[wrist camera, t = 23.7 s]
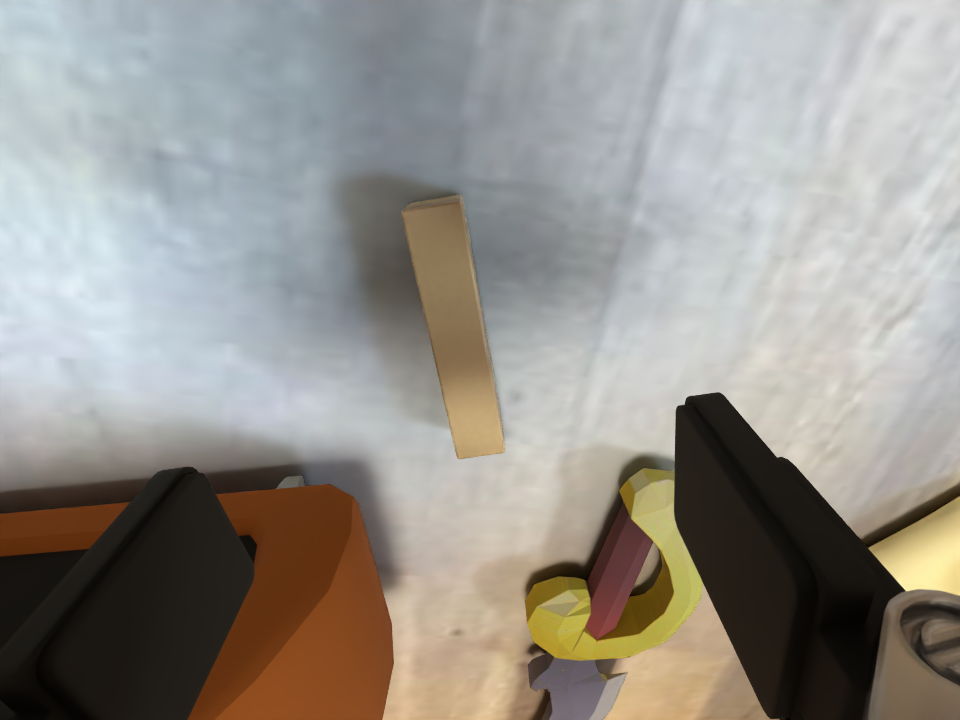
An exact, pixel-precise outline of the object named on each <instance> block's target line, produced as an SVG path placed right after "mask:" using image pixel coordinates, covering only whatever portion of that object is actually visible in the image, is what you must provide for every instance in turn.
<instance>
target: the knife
mask: <svg viewBox="0 0 960 720" xmlns="http://www.w3.org/2000/svg"><path fill="white" fill-rule="evenodd" d="M674 478H675V471H665V470H655V469H645V468H643V469H642V470H640V471H639V472H637V473H636V474H634V475H633V476H632V477H630V478H629V479H628V480H627V481H626V482H625V484H624V485H623V486H622V488H621V489H620V490H619V492H620V494H621V496H622V499H623V501H624V502H623V504H622V506H621V509H620V511H619V513H618V515H617V517H616V520H615V522H614V524H613V526H612V528H611V530H610V533H609V535H608V537H607V539H606V541H605V544H604V546H603V548H602V550H601V552H600V555H599V557H598V559H597V561H596V563H595V566H594V568H593V570H592V572H591V574H590V577H589V579H588V581H587V583H586V580H583V579H579V578H576V577H560V576H557V577H555V578H552V579H549V580H546V581H543V582H540V583H538V584H535V585H534V586H533V588H532V589H531V591H530V593H529V595H528V596H527V598H526V600H525V605H526V615H527V623H528V626H529V629H530V632H531V635H532V638H533V641H534V642H535V643H536V644H537V645H539V646H540V647H542V648H543V649H544V650H546V651H547V653H546V654H544V655H542V656H539V657H537V658H535V659H533V660H532V661H531V662H530V663H529V664H528V671H529V682H530V688H531V689H533V690H535V691H536V692H538V690H540V689H544V688H546V689H547V690H548V691H549V692H550V695H551V698H550V700H549V703H548V705H547V708H546V710H545V713H544V716H543V718H542V720H603V719H604V718H605V717H606V716H607V714H608V713H609V712H610V711H611V709H612V708H613V706H614V703H615V701H616V699H617V696H618V694H619V692H620V689H621V687H622V685H623V682H624V680H625V678H626V675H627V673H628V672H627V673H619V674H610V675H605V674H603V673H600V672H598V669H597V666H596V663H595V662H596V660H598V659H612V658H627V657H631V656H633V655H635V654H638V653H640V652H642V651H644V650H647V649H650V648H652V647H655V646H657V645H659V644H661V643H663V642H665V641H667V640H668V639H669V638H670V637H671V636H672V635H673V634H674V633H675V632H676V631H677V629H678V628H679V627H680V626H681V625H682V624H683V623H684V622H685V621H686V619H687V618H688V617H689V616H690V615H691V614H692V613H693V611H694V609H695V608H696V606H697V604H698V602H699V600H700V599H701V596H702V580H701V577H700V575H699V573H698V571H697V569H696V567H695V565H694V563H693V561H692V558H691V556H690V554H689V552H688V550H687V548H686V546H685V544H684V542H683V539H682V537H681V535H680V533H679V531H678V528H677V525H676V522H675V517H674ZM653 542H654V543H655V544H656V545H657V546H658V548H659V551H660V555H661V560H662V564H663V566H662V569H661V572H660V574H659V576H658V578H657V580H656V582H655V584H654V586H653V587H652V588H651V589H650V590H648V591H647V592H646V593H645V594H642V595H637V596H632V597H629V596H630V593H631V591H632V589H633V587H634V584H635V582H636V580H637V577H638V575H639V573H640V571H641V568H642V566H643V564H644V561H645V559H646V557H647V555H648V552H649V550H650V548H651V545H652V543H653Z"/></svg>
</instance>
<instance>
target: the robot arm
mask: <svg viewBox="0 0 960 720" xmlns="http://www.w3.org/2000/svg"><path fill="white" fill-rule="evenodd" d="M674 517H675V522H676V525H677V528H678V531H679V533H680V535H681V537H682V539H683V542H684V544H685V546H686V548H687V550H688V552H689V554H690V556H691V558H692V561H693V563H694V565H695V567H696V569H697V571H698V573H699V575H700V577H701V580H702V582H703V584H704V586H705V588H706V590H707V592H708V594H709V596H710V599H711V601H712V603H713V605H714V607H715V609H716V611H717V613H718V615H719V618H720V620H721V622H722V624H723V626H724V628H725V630H726V632H727V635H728V637H729V639H730V641H731V643H732V645H733V647H734V649H735V651H736V654H737V656H738V658H739V660H740V662H741V664H742V666H743V668H744V670H745V673H746V675H747V677H748V679H749V681H750V683H751V685H752V687H753V689H754V692H755V694H756V696H757V698H758V700H759V702H760V704H761V706H762V708H763V710H764V712H765V713H766V714H767V716H768V717H769V718H770V719H778V718H779V719H780V720H960V596H959V595H955V594H951V593H947V592H944V591H938V590H925V589H917V590H911V591H905V589H904V588H903V587H902V586H901V585H900V584H899V583H898V582H897V580H896V579H895V578H894V577H893V576H892V575H891V574H890V572H889V571H888V570H887V569H886V568H885V567H884V566H883V565H882V563H881V562H880V561H879V560H878V559H877V558H876V557H875V556H874V554H873V553H872V552H871V551H870V550H869V549H868V548H867V547H866V545H865V544H864V543H863V542H862V541H861V540H860V539H859V537H858V536H857V535H856V534H855V533H854V532H853V531H852V530H851V528H850V527H849V526H848V525H847V524H846V523H845V522H844V521H843V519H842V518H841V517H840V516H839V515H838V514H837V513H836V511H835V510H834V509H833V508H832V507H831V506H830V505H829V504H828V502H827V501H826V500H825V499H824V498H823V497H822V496H821V495H820V493H819V492H818V491H817V490H816V489H815V488H814V487H813V485H812V484H811V483H810V482H809V481H808V480H807V479H806V478H805V476H804V475H803V474H802V473H801V472H800V471H799V470H798V469H797V467H796V466H795V465H794V464H793V463H791V462H790V461H789V460H788V459H785V458H783V457H778V458H777V457H776V456H775V455H774V454H773V452H772V451H771V450H770V449H769V448H768V447H767V445H766V444H765V443H764V442H763V441H762V440H761V438H760V437H759V436H758V435H757V434H756V433H755V431H754V430H753V429H752V428H751V427H750V426H749V424H748V423H747V422H746V421H745V420H744V418H743V417H742V416H741V415H740V414H739V413H738V411H737V410H736V409H735V408H734V407H733V406H732V404H731V403H730V402H729V401H728V400H727V399H726V397H725V396H724V395H723V394H721V393H718V392H717V393H710V394H703V395H696V396H689V397H687V398H686V401H685V405H680V406H678V407H677V409H676V430H675V478H674ZM254 575H255V569H254V564H253V562H252V560H251V558H250V556H249V554H248V552H247V551H246V549H245V547H244V545H243V543H242V541H241V540H240V538H239V536H238V534H237V532H236V531H235V529H234V527H233V525H232V523H231V521H230V520H229V518H228V516H227V514H226V512H225V510H224V509H223V507H222V505H221V503H220V501H219V499H218V498H217V496H216V494H215V492H214V490H213V488H212V487H211V485H210V483H209V481H208V479H207V478H206V476H205V475H204V474H202V473H199V472H198V471H197V470H196V469H194V468H193V467H182V468H175V469H168V470H162V471H159V472H157V473H156V474H155V475H154V476H153V477H152V478H151V479H150V480H149V481H148V483H147V484H146V485H145V486H144V487H143V488H142V489H141V491H140V492H139V493H138V494H137V495H136V496H135V497H134V499H133V500H132V501H131V502H130V503H129V504H128V505H127V506H126V508H125V509H124V510H123V511H122V512H121V513H120V514H119V516H118V517H117V518H116V519H115V520H114V521H113V522H112V523H111V525H110V526H109V527H108V528H107V529H106V530H105V531H104V533H103V534H102V535H101V536H100V537H99V538H98V539H97V541H96V542H95V543H94V544H93V545H92V546H91V547H90V548H89V550H88V551H87V552H86V553H85V554H84V555H83V556H82V558H81V559H80V560H79V561H78V562H77V563H76V564H75V565H74V567H73V568H72V569H71V570H70V571H69V572H68V573H67V575H66V576H65V577H64V578H63V579H62V580H61V581H60V582H59V584H58V585H57V586H56V587H55V588H54V589H53V590H52V592H51V593H50V594H49V595H48V596H47V597H46V598H45V600H44V601H43V602H42V603H41V604H40V605H39V606H38V607H37V609H36V610H35V611H34V612H33V613H32V614H31V615H30V617H29V618H28V619H27V620H26V621H25V622H24V623H23V624H22V626H21V627H20V628H19V629H18V630H17V631H16V632H15V634H14V635H13V636H12V637H11V638H10V639H9V640H8V642H7V643H6V644H5V645H4V646H3V647H2V648H1V649H0V720H188V718H189V716H190V714H191V711H192V709H193V707H194V705H195V703H196V701H197V699H198V697H199V695H200V692H201V690H202V688H203V686H204V684H205V682H206V680H207V678H208V676H209V673H210V671H211V669H212V667H213V665H214V663H215V661H216V659H217V657H218V655H219V652H220V650H221V648H222V646H223V644H224V642H225V640H226V638H227V636H228V633H229V631H230V629H231V627H232V625H233V623H234V621H235V619H236V617H237V614H238V612H239V610H240V608H241V606H242V604H243V602H244V600H245V598H246V595H247V593H248V591H249V589H250V587H251V585H252V583H253V580H254Z"/></svg>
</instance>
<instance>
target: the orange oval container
mask: <svg viewBox="0 0 960 720" xmlns="http://www.w3.org/2000/svg"><path fill="white" fill-rule="evenodd" d="M216 496H217V498H218V499H219V501H220V503H221V505H222V507H223V509H224V510H225V512H226V514H227V516H228V518H229V520H230V521H231V523H232V525H233V527H234V529H235V531H236V532H237V534H238V536H239V538H240V540H241V541H242V543H243V545H244V547H245V549H246V551H247V552H248V554H249V556H250V558H251V560H252V562H253V564H254V569H255V575H254V580H253V583H252V585H251V587H250V589H249V591H248V593H247V595H246V598H245V600H244V602H243V604H242V606H241V608H240V610H239V612H238V614H237V617H236V619H235V621H234V623H233V625H232V627H231V629H230V631H229V633H228V636H227V638H226V640H225V642H224V644H223V646H222V648H221V650H220V652H219V655H218V657H217V659H216V661H215V663H214V665H213V667H212V669H211V671H210V673H209V676H208V678H207V680H206V682H205V684H204V686H203V688H202V690H201V692H200V695H199V697H198V699H197V701H196V703H195V705H194V707H193V709H192V711H191V714H190V716H189V718H188V720H382V718H383V714H384V709H385V704H386V699H387V694H388V689H389V684H390V679H391V674H392V669H393V664H394V659H393V640H392V623H391V619H390V616H389V612H388V608H387V605H386V601H385V598H384V594H383V590H382V587H381V583H380V580H379V576H378V572H377V569H376V565H375V561H374V558H373V554H372V551H371V547H370V543H369V540H368V536H367V533H366V529H365V525H364V522H363V518H362V515H361V511H360V507H359V504H358V503H357V501H356V500H355V499H354V497H353V496H351V495H349V494H347V493H346V492H344V491H342V490H340V489H338V488H336V487H334V486H333V485H331V484H325V485H313V486H306V485H305V482H304V479H303V477H302V476H292V477H285V478H284V479H283V481H282V482H281V483H280V484H279V485H278V487H277V488H276V489H269V490H258V491H247V492H236V493H225V494H216ZM129 503H130V502H126V503H115V504H104V505H93V506H82V507H71V508H60V509H49V510H38V511H27V512H16V513H5V514H0V649H1V648H2V647H3V646H4V645H5V644H6V643H7V642H8V640H9V639H10V638H11V637H12V636H13V635H14V634H15V632H16V631H17V630H18V629H19V628H20V627H21V626H22V624H23V623H24V622H25V621H26V620H27V619H28V618H29V617H30V615H31V614H32V613H33V612H34V611H35V610H36V609H37V607H38V606H39V605H40V604H41V603H42V602H43V601H44V600H45V598H46V597H47V596H48V595H49V594H50V593H51V592H52V590H53V589H54V588H55V587H56V586H57V585H58V584H59V582H60V581H61V580H62V579H63V578H64V577H65V576H66V575H67V573H68V572H69V571H70V570H71V569H72V568H73V567H74V565H75V564H76V563H77V562H78V561H79V560H80V559H81V558H82V556H83V555H84V554H85V553H86V552H87V551H88V550H89V548H90V547H91V546H92V545H93V544H94V543H95V542H96V541H97V539H98V538H99V537H100V536H101V535H102V534H103V533H104V531H105V530H106V529H107V528H108V527H109V526H110V525H111V523H112V522H113V521H114V520H115V519H116V518H117V517H118V516H119V514H120V513H121V512H122V511H123V510H124V509H125V508H126V506H127V505H128V504H129Z"/></svg>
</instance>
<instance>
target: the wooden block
mask: <svg viewBox="0 0 960 720" xmlns="http://www.w3.org/2000/svg"><path fill="white" fill-rule="evenodd" d="M401 216H402V220H403V224H404V229H405V233H406V237H407V242H408V246H409V251H410V255H411V259H412V264H413V268H414V272H415V277H416V281H417V285H418V290H419V294H420V298H421V303H422V307H423V311H424V316H425V320H426V325H427V329H428V333H429V338H430V342H431V346H432V351H433V355H434V359H435V364H436V368H437V372H438V377H439V381H440V385H441V390H442V394H443V399H444V403H445V407H446V412H447V416H448V420H449V425H450V429H451V433H452V438H453V442H454V446H455V451H456V455H457V458H458V459H463V458H470V457H477V456H484V455H491V454H499V453H504V452H505V443H504V431H503V423H502V417H501V411H500V406H499V400H498V394H497V389H496V383H495V377H494V372H493V366H492V360H491V354H490V349H489V343H488V337H487V332H486V326H485V320H484V315H483V309H482V303H481V297H480V292H479V286H478V280H477V275H476V269H475V263H474V257H473V252H472V246H471V240H470V235H469V229H468V223H467V218H466V212H465V206H464V200H463V196H462V195H460V194H459V195H454V196H448V197H443V198H437V199H431V200H426V201H420V202H414V203H410V204H408V206H407V207H406V208H405V209H404V210H403V211H402V212H401Z"/></svg>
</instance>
